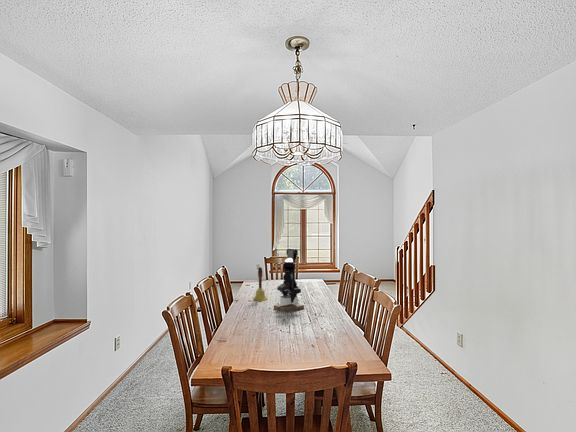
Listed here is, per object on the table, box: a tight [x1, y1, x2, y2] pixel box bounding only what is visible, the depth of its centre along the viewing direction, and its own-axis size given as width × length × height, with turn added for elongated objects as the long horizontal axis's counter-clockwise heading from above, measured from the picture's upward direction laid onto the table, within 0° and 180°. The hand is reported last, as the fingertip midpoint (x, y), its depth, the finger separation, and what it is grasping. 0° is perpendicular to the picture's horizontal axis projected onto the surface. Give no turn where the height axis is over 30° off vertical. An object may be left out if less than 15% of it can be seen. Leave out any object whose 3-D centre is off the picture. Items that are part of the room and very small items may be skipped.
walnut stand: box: [273, 303, 305, 313], centre depth 274 cm, size 14×16×2 cm
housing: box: [280, 295, 298, 305], centre depth 274 cm, size 10×6×5 cm, turn 125°
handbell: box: [252, 266, 269, 302], centre depth 307 cm, size 12×12×25 cm
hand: (288, 301), depth 274 cm, fingers closed on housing, 6 cm apart
